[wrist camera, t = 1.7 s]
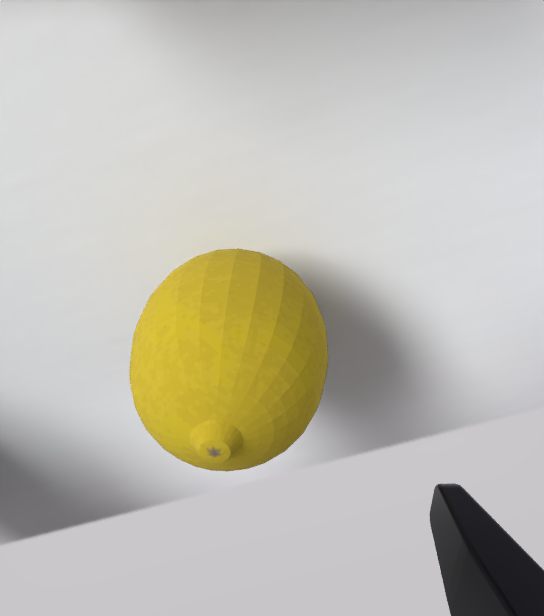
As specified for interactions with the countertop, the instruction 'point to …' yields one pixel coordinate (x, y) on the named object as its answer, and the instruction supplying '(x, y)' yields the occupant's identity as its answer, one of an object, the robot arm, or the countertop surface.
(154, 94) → the countertop surface
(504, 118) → the countertop surface
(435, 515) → the robot arm
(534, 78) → the countertop surface
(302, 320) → the lemon
